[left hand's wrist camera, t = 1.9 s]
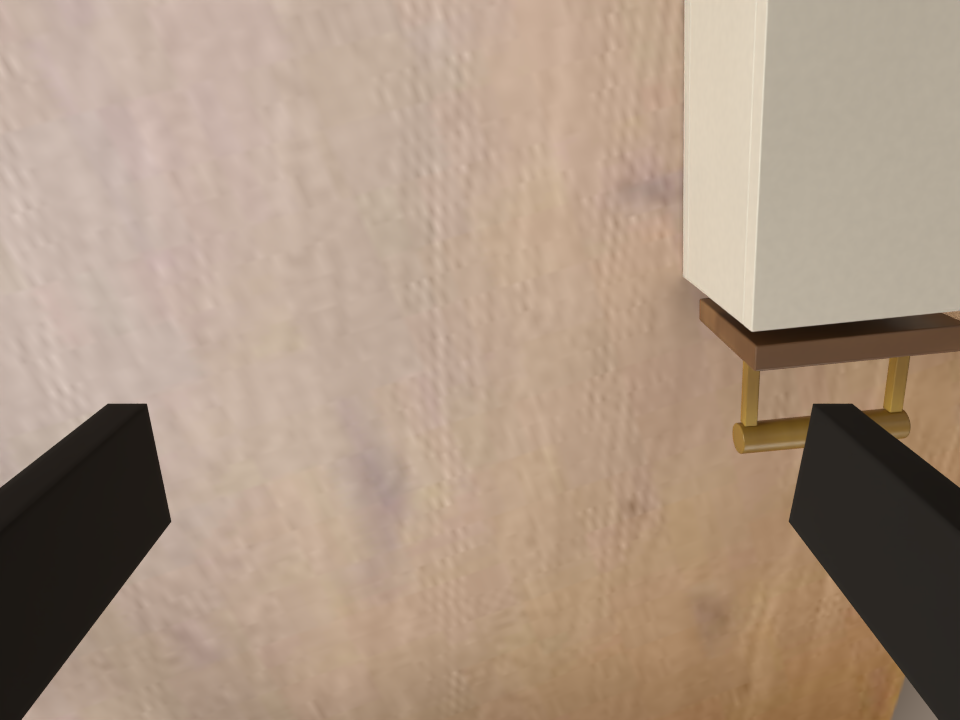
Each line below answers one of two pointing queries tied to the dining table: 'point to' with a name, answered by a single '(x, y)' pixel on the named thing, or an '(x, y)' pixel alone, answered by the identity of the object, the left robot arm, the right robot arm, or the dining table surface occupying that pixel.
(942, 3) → the cream rectangular box
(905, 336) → the drawer
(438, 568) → the dining table surface
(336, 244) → the dining table surface
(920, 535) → the left robot arm
